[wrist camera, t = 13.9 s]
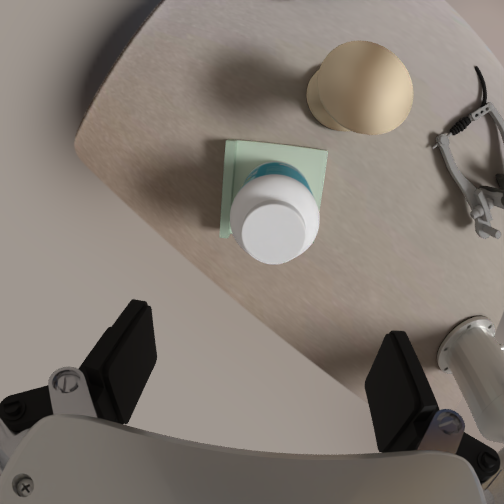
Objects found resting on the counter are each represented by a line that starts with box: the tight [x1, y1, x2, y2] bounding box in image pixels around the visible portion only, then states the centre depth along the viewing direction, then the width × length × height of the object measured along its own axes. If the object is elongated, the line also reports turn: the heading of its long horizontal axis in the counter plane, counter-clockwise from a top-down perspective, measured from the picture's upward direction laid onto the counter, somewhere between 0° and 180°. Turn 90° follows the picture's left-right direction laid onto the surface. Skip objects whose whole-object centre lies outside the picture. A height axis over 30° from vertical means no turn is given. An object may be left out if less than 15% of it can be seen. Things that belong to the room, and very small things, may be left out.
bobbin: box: [306, 41, 413, 135], centre depth 25 cm, size 8×8×11 cm
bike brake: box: [432, 67, 504, 239], centre depth 28 cm, size 14×7×20 cm
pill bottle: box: [230, 161, 319, 264], centre depth 28 cm, size 8×7×14 cm
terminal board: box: [220, 139, 328, 243], centre depth 34 cm, size 11×11×3 cm
